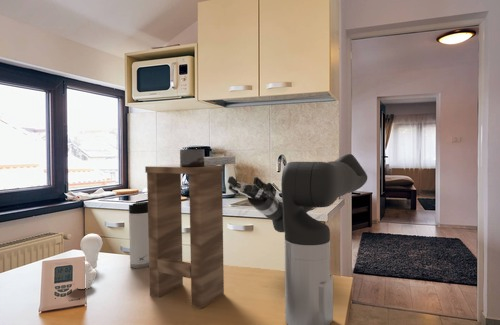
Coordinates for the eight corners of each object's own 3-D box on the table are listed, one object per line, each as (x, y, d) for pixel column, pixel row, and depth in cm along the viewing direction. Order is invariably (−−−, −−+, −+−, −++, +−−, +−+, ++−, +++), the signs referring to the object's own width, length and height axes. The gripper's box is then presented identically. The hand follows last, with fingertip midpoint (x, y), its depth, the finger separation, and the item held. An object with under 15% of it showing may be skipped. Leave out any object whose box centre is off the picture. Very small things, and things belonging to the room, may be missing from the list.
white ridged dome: (99, 282, 95) (99, 257, 95) (92, 291, 89) (91, 264, 89) (76, 283, 94) (75, 258, 94) (66, 293, 88) (66, 265, 88)
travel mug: (146, 268, 105) (144, 203, 105) (126, 267, 107) (124, 202, 106) (155, 262, 112) (154, 200, 111) (136, 261, 113) (135, 199, 112)
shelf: (224, 293, 87) (223, 165, 86) (200, 309, 78) (198, 167, 77) (175, 282, 95) (173, 164, 93) (148, 295, 86) (145, 166, 85)
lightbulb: (107, 268, 106) (106, 232, 106) (89, 274, 101) (87, 237, 101) (95, 265, 109) (94, 230, 109) (76, 271, 104) (75, 234, 104)
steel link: (239, 163, 95) (239, 148, 95) (194, 167, 78) (194, 149, 78) (222, 163, 98) (222, 149, 98) (175, 167, 80) (174, 149, 80)
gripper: (247, 188, 120) (224, 167, 107) (285, 190, 113) (266, 168, 100) (242, 209, 117) (218, 189, 104) (281, 212, 110) (260, 192, 97)
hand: (242, 179), depth 102 cm, fingers open, 8 cm apart
